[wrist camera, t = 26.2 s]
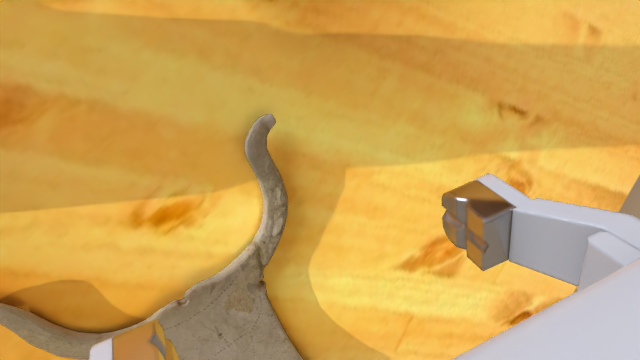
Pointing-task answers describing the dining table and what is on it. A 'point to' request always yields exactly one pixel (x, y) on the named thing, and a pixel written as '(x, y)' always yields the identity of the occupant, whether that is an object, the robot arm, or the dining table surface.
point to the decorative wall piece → (204, 293)
